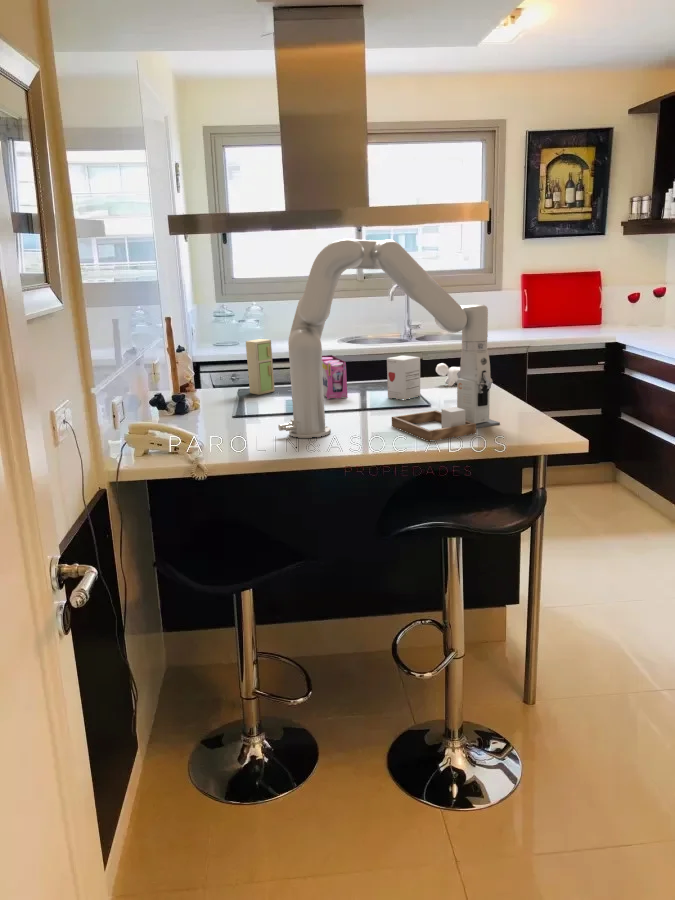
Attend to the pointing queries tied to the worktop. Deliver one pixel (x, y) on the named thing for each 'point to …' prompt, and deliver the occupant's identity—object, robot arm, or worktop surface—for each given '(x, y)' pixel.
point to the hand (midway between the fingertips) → (473, 402)
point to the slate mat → (487, 423)
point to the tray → (407, 425)
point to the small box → (471, 401)
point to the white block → (453, 417)
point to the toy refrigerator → (260, 366)
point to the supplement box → (403, 377)
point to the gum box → (334, 377)
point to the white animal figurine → (448, 373)
